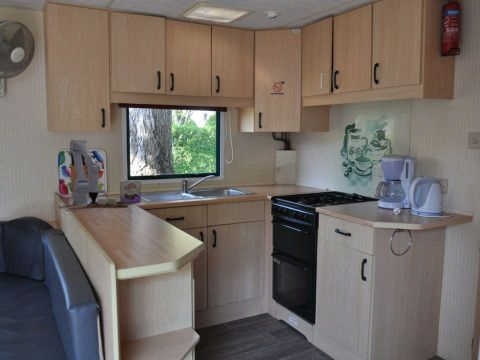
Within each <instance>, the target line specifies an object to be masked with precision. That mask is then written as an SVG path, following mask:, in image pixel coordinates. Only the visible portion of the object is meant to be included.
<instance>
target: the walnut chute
mask: <svg viewBox="0 0 480 360" xmlns="http://www.w3.org/2000/svg"><path fill="white" fill-rule="evenodd" d="M129 206H130V202H120V201H116V204H108V201H107V204H98V201H95V204H92V201H89V203H87V205H86V207H87V208H129Z"/></svg>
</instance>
